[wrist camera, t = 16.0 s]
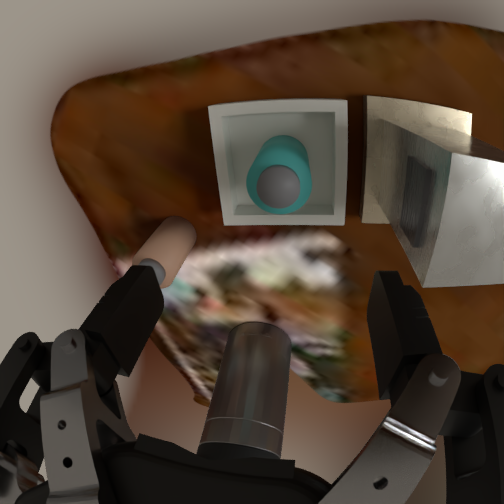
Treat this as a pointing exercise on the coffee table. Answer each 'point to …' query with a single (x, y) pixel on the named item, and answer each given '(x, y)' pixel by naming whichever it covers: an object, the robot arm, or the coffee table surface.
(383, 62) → the coffee table surface
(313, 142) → the tray
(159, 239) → the beige cylinder
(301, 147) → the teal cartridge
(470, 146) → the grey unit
